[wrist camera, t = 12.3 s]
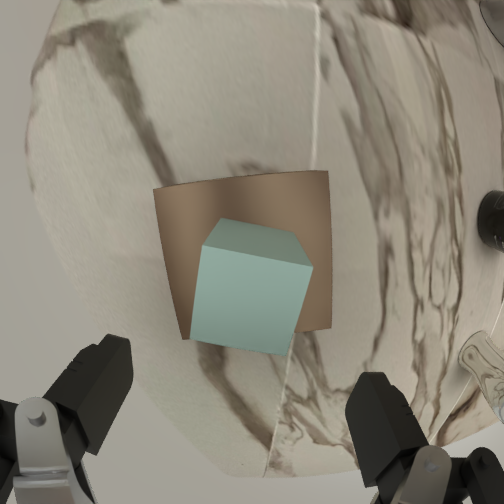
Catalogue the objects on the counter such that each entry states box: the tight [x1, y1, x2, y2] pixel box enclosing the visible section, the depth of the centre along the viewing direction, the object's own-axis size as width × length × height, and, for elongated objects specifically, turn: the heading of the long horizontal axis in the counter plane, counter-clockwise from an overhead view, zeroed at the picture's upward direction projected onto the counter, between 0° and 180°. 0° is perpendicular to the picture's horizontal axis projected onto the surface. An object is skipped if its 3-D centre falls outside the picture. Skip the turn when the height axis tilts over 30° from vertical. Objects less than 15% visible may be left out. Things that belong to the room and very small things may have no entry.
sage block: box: [190, 218, 313, 356], centre depth 16 cm, size 5×5×7 cm
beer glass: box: [459, 331, 504, 424], centre depth 22 cm, size 7×7×15 cm
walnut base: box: [153, 170, 332, 340], centre depth 23 cm, size 12×12×6 cm
